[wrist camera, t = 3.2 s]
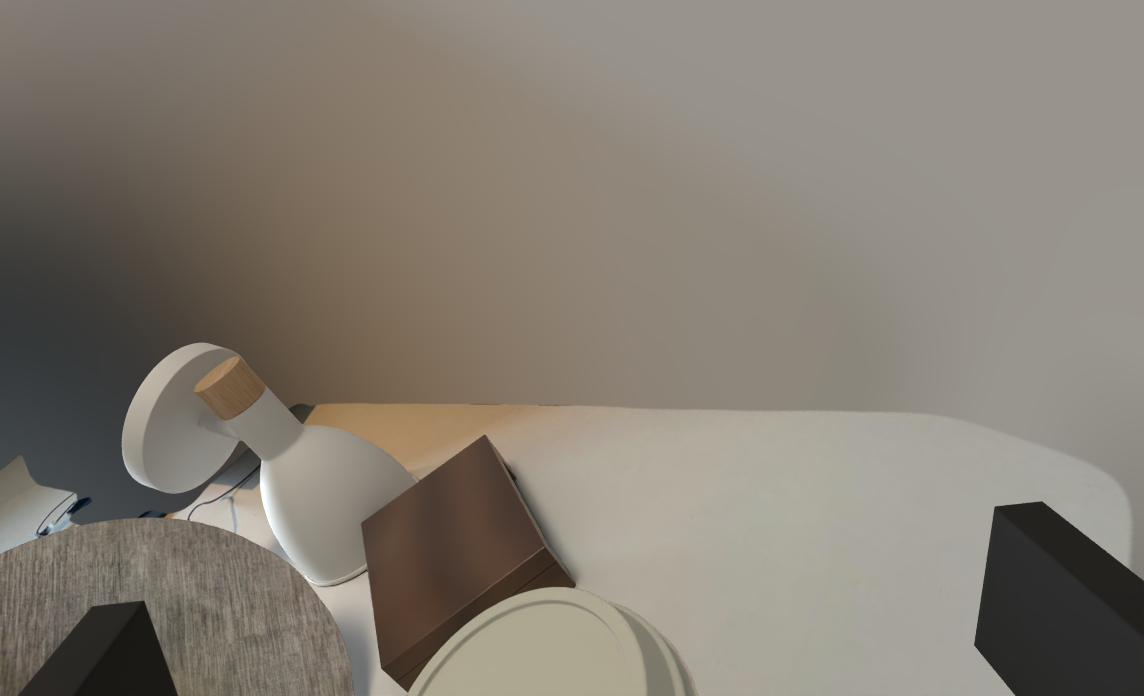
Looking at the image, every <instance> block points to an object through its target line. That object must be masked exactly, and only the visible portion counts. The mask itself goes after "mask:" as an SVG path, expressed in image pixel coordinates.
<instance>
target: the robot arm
mask: <svg viewBox="0 0 1144 696" xmlns="http://www.w3.org/2000/svg"><path fill="white" fill-rule="evenodd" d="M974 646H975V647H976V648H977V649H978V651H979V652H980V653H981V654H982V655H983V657H984V658H985V659H986V660H987V661H988V663H989V664H990V665H991V666H992V668H993V669H994V670H995V671H996V672H997V674H998V675H999V676H1000V677H1001V679H1002V680H1003V681H1004V682H1005V683H1006V685H1007V686H1008V687H1009V688H1010V689H1011V691H1012V692H1013V693H1014V694H1015V696H1144V581H1143V580H1142V579H1141V578H1139V577H1138V576H1137V575H1135V574H1134V573H1133V572H1132V571H1130V570H1129V569H1128V568H1127V567H1125V566H1124V565H1123V564H1121V563H1120V562H1119V561H1118V560H1116V559H1115V558H1114V557H1112V556H1111V555H1110V554H1109V553H1107V552H1106V551H1105V550H1104V549H1102V548H1101V547H1100V546H1098V545H1097V544H1096V543H1095V542H1093V541H1092V540H1091V539H1089V538H1088V537H1087V536H1086V535H1084V534H1083V533H1082V532H1081V531H1079V530H1078V529H1077V528H1075V527H1074V526H1073V525H1072V524H1070V523H1069V522H1068V521H1066V520H1065V519H1064V518H1063V517H1061V516H1060V515H1059V514H1057V513H1056V512H1055V511H1054V510H1052V509H1051V508H1050V507H1049V506H1047V505H1046V504H1045V503H1043V502H1042V501H1041V502H1032V503H1023V504H1014V505H1005V506H996V507H995V509H994V515H993V522H992V529H991V535H990V542H989V549H988V556H987V562H986V569H985V576H984V582H983V589H982V596H981V603H980V609H979V616H978V623H977V629H976V636H975V643H974ZM18 696H178V694H177V691H176V688H175V685H174V682H173V680H172V677H171V674H170V671H169V668H168V666H167V663H166V660H165V657H164V654H163V652H162V649H161V646H160V643H159V640H158V638H157V635H156V632H155V629H154V626H153V623H152V621H151V618H150V615H149V612H148V609H147V607H146V604H145V601H135V602H126V603H117V604H108V605H98V606H92V607H91V608H90V609H89V611H88V612H87V613H86V614H85V615H84V617H83V618H82V619H81V620H80V621H79V623H78V624H77V625H76V626H75V627H74V629H73V630H72V631H71V632H70V633H69V635H68V636H67V637H66V638H65V639H64V641H63V642H62V643H61V644H60V645H59V647H58V648H57V649H56V650H55V651H54V653H53V654H52V655H51V656H50V657H49V659H48V660H47V661H46V662H45V663H44V665H43V666H42V667H41V668H40V669H39V671H38V672H37V673H36V674H35V675H34V677H33V678H32V679H31V680H30V681H29V683H28V684H27V685H26V686H25V687H24V689H23V690H22V691H21V692H20V693H19V695H18Z"/></svg>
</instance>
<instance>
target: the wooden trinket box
mask: <svg viewBox="0 0 1144 696" xmlns="http://www.w3.org/2000/svg"><path fill="white" fill-rule="evenodd" d="M515 479H516V477H515V475H514V473H513V471H512V470H511V468H510V466H509V465H508V464H507V462H506V461H505V460H504V458H503V457H502V456H501V455H500V453H499V452H498V451H497V449H496V448H495V447H494V445H493V444H492V443H491V442H490V440H489V439H488V438H487V436H486V435H483V436H482V437H480V438H479V439H478V440H476V441H475V442H473V443H472V444H471V445H469V446H468V447H466V448H465V449H464V450H462V451H461V452H459V453H458V454H457V455H455V456H454V457H452V458H451V459H450V460H448V461H447V462H445V463H444V464H443V465H441V466H440V467H438V468H437V469H436V470H434V471H433V472H431V473H430V474H429V475H427V476H426V477H424V478H423V479H422V480H420V481H419V482H417V483H416V484H415V485H413V486H412V487H411V488H409V489H408V490H406V491H405V492H404V493H402V494H401V495H399V496H398V497H397V498H395V499H394V500H392V501H391V502H390V503H388V504H387V505H385V506H384V507H383V508H381V509H380V510H378V511H377V512H376V513H374V514H373V515H371V516H370V517H369V518H367V519H366V520H364V521H363V522H362V523H361V528H362V535H363V542H364V549H365V556H366V564H367V571H368V578H369V585H370V592H371V599H372V606H373V613H374V620H375V627H376V635H377V642H378V649H379V656H380V663H381V669H382V670H383V671H385V672H386V673H387V674H388V675H389V676H390V677H391V678H392V679H393V680H395V681H396V682H397V683H398V684H399V685H400V686H401V687H402V688H403V689H404V690H405V691H407V692H409V690H410V688H411V687H412V685H413V684H414V682H415V681H416V679H417V678H418V676H419V675H420V673H421V672H422V670H423V669H424V668H425V666H426V665H427V664H428V662H429V661H430V660H431V659H432V658H433V656H434V655H435V654H436V653H437V652H438V651H439V649H440V648H441V647H442V646H443V645H444V644H445V643H446V642H447V641H448V640H449V639H450V638H451V637H452V636H453V635H454V634H455V633H457V632H458V631H459V630H460V629H461V628H462V627H463V626H464V625H466V624H467V623H468V622H470V621H471V620H472V619H474V618H475V617H476V616H478V615H479V614H481V613H482V612H484V611H485V610H487V609H489V608H490V607H492V606H494V605H496V604H498V603H499V602H501V601H504V600H506V599H508V598H510V597H513V596H515V595H518V594H521V593H524V592H528V591H532V590H536V589H541V588H550V587H567V588H573V587H574V586H575V585H576V584H575V582H574V581H573V579H572V577H571V575H570V573H569V572H568V570H567V568H566V566H565V565H564V564H563V563H562V561H561V560H560V559H559V558H558V556H557V555H556V554H555V552H554V551H553V550H552V549H551V547H550V546H549V545H548V544H547V542H546V540H545V538H544V537H543V535H542V533H541V531H540V529H539V527H538V526H537V524H536V522H535V520H534V518H533V516H532V515H531V513H530V511H529V509H528V507H527V505H526V504H525V502H524V500H523V498H522V496H521V494H520V493H519V491H518V489H517V487H516V485H515V484H514V482H513V481H514V480H515Z"/></svg>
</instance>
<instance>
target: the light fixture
mask: <svg viewBox="0 0 1144 696" xmlns="http://www.w3.org/2000/svg"><path fill="white" fill-rule="evenodd" d="M239 440H241V441H244V442H245V443H246V444H247V445H248V446H249V447H250V448H251V449H252V450H253V451H254V452H255V453H256V454H257V455H258V456H259V457H260V458H261V460H262V463H261V471H260V486H261V496H262V501H263V505H264V509H265V512H266V515H267V518H268V521H269V524H270V526H271V528H272V530H273V532H274V534H275V536H276V538H277V540H278V541H279V543H280V545H281V546H282V548H283V549H284V550H285V552H286V553H287V554H288V556H289V557H290V558H291V559H292V561H293V562H294V563H295V564H296V565H297V566H298V567H299V568H300V569H301V570H302V571H303V572H304V574H305V576H306V578H307V579H308V580H309V581H310V582H311V583H313V584H315V585H318V586H331V585H335V584H339V583H342V582H344V581H347V580H349V579H351V578H353V577H355V576H357V575H358V574H360V573H362V572H363V571H365V570H366V569H367V564H366V556H365V549H364V542H363V535H362V528H361V523H362V522H363V521H364V520H366V519H367V518H369V517H370V516H371V515H373V514H374V513H376V512H377V511H378V510H380V509H381V508H383V507H384V506H385V505H387V504H388V503H390V502H391V501H392V500H394V499H395V498H397V497H398V496H399V495H401V494H402V493H404V492H405V491H406V490H408V489H409V488H411V487H412V486H413V485H415V484H416V483H417V482H419V481H418V479H417V478H416V477H415V476H413V475H412V474H409V473H408V472H407V470H406V469H405V468H404V467H403V466H402V465H401V464H400V463H399V462H398V461H396V460H395V459H394V458H393V457H392V456H391V455H389V454H388V453H387V452H385V451H384V450H383V449H381V448H380V447H378V446H377V445H375V444H373V443H372V442H370V441H368V440H366V439H364V438H362V437H360V436H357V435H355V434H353V433H350V432H347V431H344V430H340V429H336V428H332V427H326V426H317V425H302V424H301V423H300V422H299V421H298V420H297V419H296V418H295V417H294V415H293V414H292V413H291V412H290V411H289V410H288V409H287V408H286V407H285V406H284V405H283V404H282V403H281V402H280V401H279V400H278V398H277V397H276V396H275V395H274V394H273V393H272V392H271V391H270V390H269V389H268V388H267V387H266V385H265V384H264V383H263V382H262V381H261V380H260V378H259V377H258V376H257V375H256V374H255V373H254V372H253V371H252V370H251V369H250V368H249V366H248V365H247V364H246V362H245V361H244V360H243V358H242V357H241V356H240V355H238V354H237V353H236V352H234V351H232V350H229V349H225V348H222V347H219V346H215V345H212V344H208V343H195V344H191V345H188V346H185V347H182V348H180V349H178V350H176V351H175V352H173V353H171V354H170V355H169V356H167V357H166V358H165V359H163V360H162V361H161V362H160V363H159V364H158V365H157V366H156V367H155V368H154V369H153V370H152V371H151V372H150V374H149V375H148V376H147V378H146V379H145V380H144V382H143V383H142V385H141V386H140V388H139V390H138V391H137V393H136V395H135V397H134V399H133V401H132V403H131V405H130V408H129V410H128V413H127V416H126V420H125V423H124V428H123V435H122V451H123V452H122V453H123V459H124V462H125V465H126V468H127V470H128V472H129V473H130V475H131V476H132V477H133V478H134V479H135V480H136V481H138V482H139V483H141V484H143V485H146V486H148V487H152V488H155V489H157V490H160V491H163V492H167V493H181V492H185V491H188V490H191V489H193V488H195V487H197V486H199V485H200V484H202V483H203V482H205V481H206V480H207V479H209V478H210V477H211V476H212V475H213V474H214V473H216V472H217V471H218V469H219V468H220V467H221V466H222V465H223V464H224V463H225V461H226V460H227V459H228V457H229V456H230V455H231V453H232V451H233V450H234V448H235V447H236V445H237V443H238V441H239Z"/></svg>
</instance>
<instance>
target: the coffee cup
mask: <svg viewBox="0 0 1144 696" xmlns="http://www.w3.org/2000/svg"><path fill="white" fill-rule="evenodd" d="M406 696H698V693H697V690H696V687H695V684H694V681H693V678H692V676H691V674H690V672H689V669H688V667H687V665H686V664H685V662H684V660H683V659H682V657H681V655H680V654H679V652H678V651H677V650H676V648H675V647H674V646H673V645H672V643H671V642H670V641H669V640H668V639H667V638H666V637H665V636H664V635H663V634H662V633H661V632H660V631H658V630H657V629H656V628H654V627H653V626H652V625H650V624H649V623H648V622H647V621H646V620H644V619H643V618H642V617H641V616H639V615H638V614H636V613H635V612H633V611H631V610H629V609H627V608H625V607H623V606H621V605H618V604H615V603H612V602H609V601H606V600H604V599H602V598H601V597H599V596H597V595H594V594H592V593H590V592H587V591H583V590H580V589H575V588H567V587H550V588H541V589H536V590H532V591H528V592H524V593H521V594H518V595H515V596H513V597H510V598H508V599H506V600H504V601H501V602H499V603H498V604H496V605H494V606H492V607H490V608H489V609H487V610H485V611H484V612H482V613H481V614H479V615H478V616H476V617H475V618H474V619H472V620H471V621H470V622H468V623H467V624H466V625H464V626H463V627H462V628H461V629H460V630H459V631H458V632H457V633H455V634H454V635H453V636H452V637H451V638H450V639H449V640H448V641H447V642H446V643H445V644H444V645H443V646H442V647H441V648H440V649H439V651H438V652H437V653H436V654H435V655H434V656H433V658H432V659H431V660H430V661H429V662H428V664H427V665H426V666H425V668H424V669H423V670H422V672H421V673H420V675H419V676H418V678H417V679H416V681H415V682H414V684H413V685H412V687H411V688H410V690H409V692H408V694H407V695H406Z"/></svg>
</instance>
